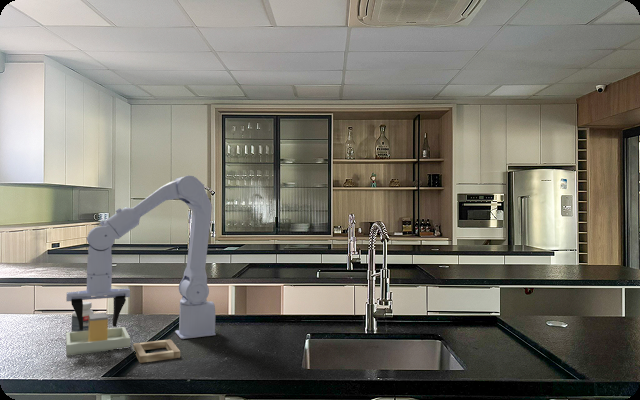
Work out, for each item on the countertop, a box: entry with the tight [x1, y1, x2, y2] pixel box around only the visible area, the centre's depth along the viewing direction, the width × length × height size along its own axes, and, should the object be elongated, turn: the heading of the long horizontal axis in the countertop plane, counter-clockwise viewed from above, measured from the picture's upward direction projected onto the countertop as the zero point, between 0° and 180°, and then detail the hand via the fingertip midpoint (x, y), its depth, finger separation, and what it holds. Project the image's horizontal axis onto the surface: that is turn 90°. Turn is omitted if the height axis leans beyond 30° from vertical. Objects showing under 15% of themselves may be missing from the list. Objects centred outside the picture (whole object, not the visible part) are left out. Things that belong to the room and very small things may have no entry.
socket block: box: [132, 338, 181, 364], centre depth 114 cm, size 9×11×2 cm
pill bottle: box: [70, 301, 94, 332], centre depth 127 cm, size 5×5×9 cm
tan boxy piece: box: [88, 312, 109, 342], centre depth 119 cm, size 4×6×7 cm, turn 29°
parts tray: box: [65, 326, 131, 357], centre depth 119 cm, size 14×12×2 cm
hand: (98, 327), depth 119 cm, fingers open, 7 cm apart
